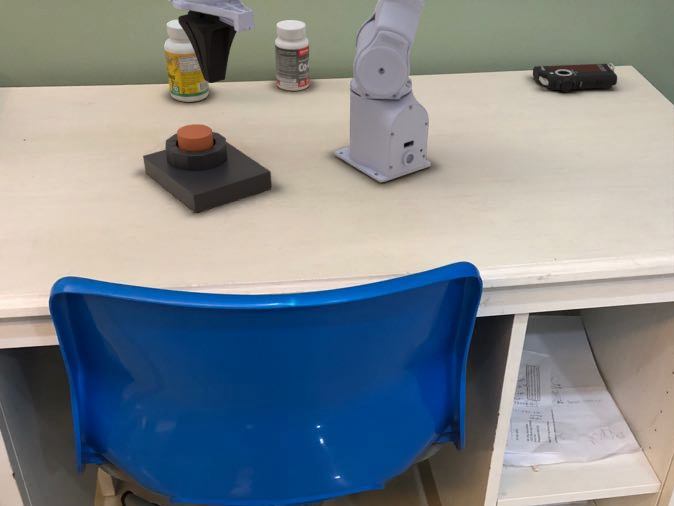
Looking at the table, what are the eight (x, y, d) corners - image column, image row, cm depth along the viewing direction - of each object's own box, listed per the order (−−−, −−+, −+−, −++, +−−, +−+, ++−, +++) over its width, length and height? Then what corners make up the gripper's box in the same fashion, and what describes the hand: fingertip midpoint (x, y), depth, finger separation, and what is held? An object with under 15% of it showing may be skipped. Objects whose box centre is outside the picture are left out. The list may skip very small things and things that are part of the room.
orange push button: (220, 147, 100) (218, 133, 99) (189, 156, 98) (187, 141, 97) (202, 135, 102) (201, 121, 101) (172, 143, 100) (170, 129, 99)
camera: (620, 75, 123) (545, 78, 123) (616, 93, 125) (542, 96, 125) (607, 55, 128) (534, 58, 127) (603, 74, 130) (531, 77, 129)
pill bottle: (305, 92, 122) (303, 31, 117) (272, 89, 123) (269, 28, 118) (313, 80, 126) (312, 20, 120) (281, 77, 127) (279, 17, 121)
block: (271, 188, 100) (270, 156, 98) (195, 213, 96) (191, 179, 93) (218, 152, 107) (215, 120, 105) (145, 173, 103) (140, 140, 100)
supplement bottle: (212, 100, 119) (205, 28, 113) (173, 104, 118) (164, 31, 112) (205, 86, 123) (198, 15, 117) (167, 90, 122) (158, 18, 116)
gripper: (134, -57, 94) (151, 69, 103) (210, -27, 86) (221, 107, 95) (189, -66, 98) (201, 56, 107) (267, -39, 90) (273, 91, 98)
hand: (214, 79), depth 101 cm, fingers closed
